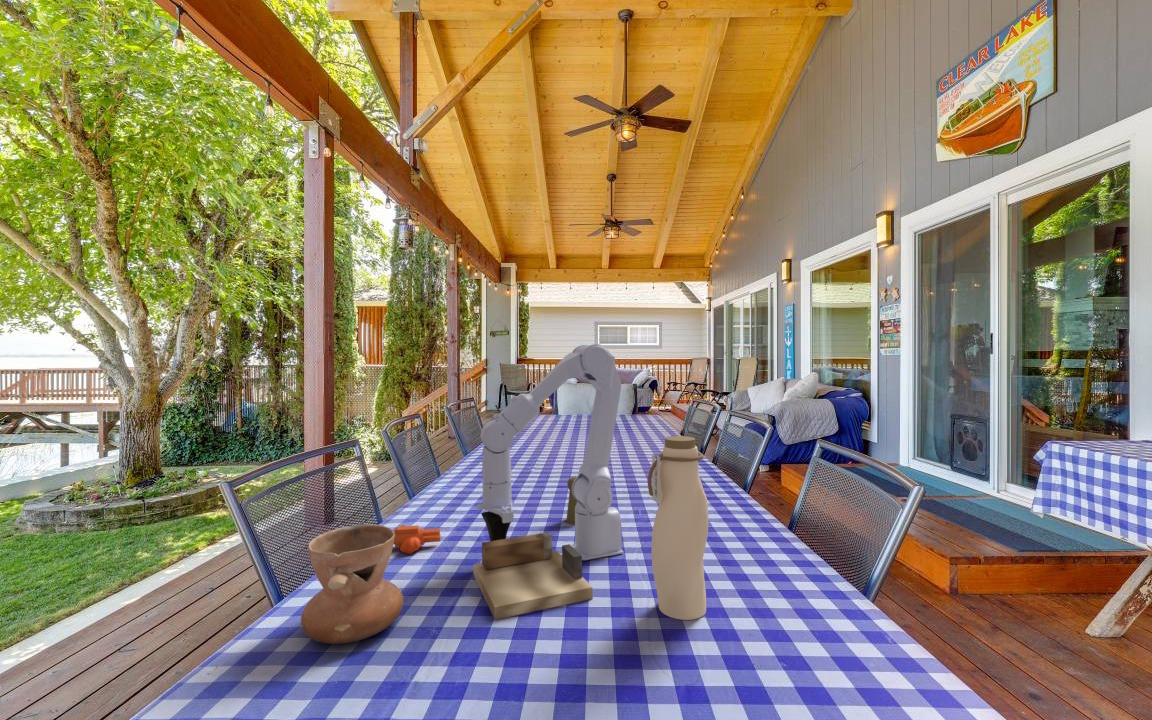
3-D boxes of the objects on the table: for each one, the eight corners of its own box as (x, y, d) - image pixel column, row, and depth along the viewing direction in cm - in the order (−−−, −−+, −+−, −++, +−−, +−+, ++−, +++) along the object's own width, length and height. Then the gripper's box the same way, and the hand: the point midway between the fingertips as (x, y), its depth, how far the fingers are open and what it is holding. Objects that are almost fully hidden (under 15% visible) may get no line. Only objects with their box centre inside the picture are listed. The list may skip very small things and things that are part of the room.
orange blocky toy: (440, 517, 113) (384, 521, 111) (438, 539, 107) (378, 544, 104) (441, 536, 115) (386, 540, 113) (439, 559, 108) (380, 564, 106)
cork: (587, 525, 124) (587, 480, 124) (563, 523, 125) (563, 479, 125) (591, 517, 130) (591, 474, 130) (569, 516, 131) (568, 474, 131)
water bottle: (671, 630, 76) (669, 446, 76) (637, 605, 84) (635, 437, 84) (722, 613, 81) (720, 440, 81) (685, 591, 89) (683, 432, 89)
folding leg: (549, 551, 101) (548, 532, 101) (554, 557, 98) (554, 537, 98) (482, 563, 96) (481, 542, 96) (485, 569, 93) (485, 548, 93)
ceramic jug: (390, 655, 71) (389, 555, 71) (280, 666, 69) (278, 562, 69) (413, 595, 89) (412, 515, 88) (326, 602, 86) (325, 519, 86)
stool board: (556, 560, 103) (556, 530, 103) (592, 598, 86) (592, 564, 86) (473, 574, 97) (472, 543, 97) (495, 619, 80) (494, 582, 80)
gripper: (468, 475, 106) (469, 539, 106) (487, 492, 93) (488, 565, 93) (500, 471, 109) (501, 534, 109) (523, 487, 96) (524, 558, 96)
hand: (497, 548), depth 101 cm, fingers closed
